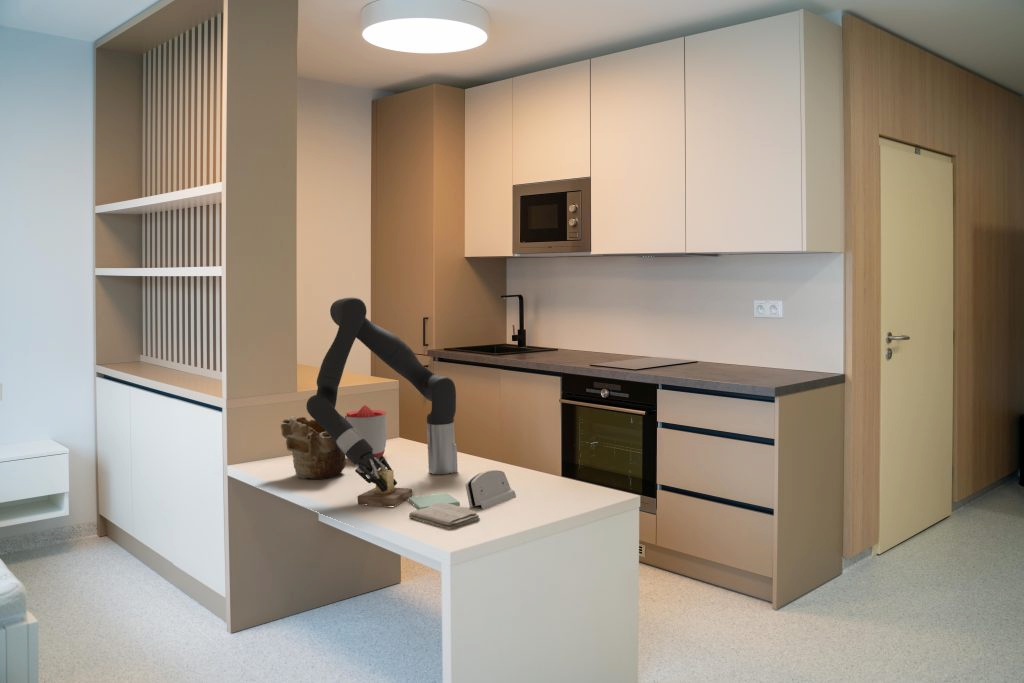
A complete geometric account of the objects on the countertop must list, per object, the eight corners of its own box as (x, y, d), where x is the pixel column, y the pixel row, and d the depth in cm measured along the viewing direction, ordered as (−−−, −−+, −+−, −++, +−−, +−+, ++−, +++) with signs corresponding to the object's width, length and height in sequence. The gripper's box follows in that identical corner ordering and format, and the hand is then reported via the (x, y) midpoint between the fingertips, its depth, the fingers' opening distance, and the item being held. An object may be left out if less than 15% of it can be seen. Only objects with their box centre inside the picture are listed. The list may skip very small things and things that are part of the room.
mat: (446, 495, 253) (446, 492, 253) (459, 505, 242) (459, 501, 242) (408, 500, 248) (408, 497, 248) (420, 510, 237) (420, 507, 237)
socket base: (378, 494, 257) (378, 486, 257) (412, 496, 252) (412, 488, 252) (357, 504, 246) (357, 496, 245) (393, 507, 241) (392, 498, 241)
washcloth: (451, 532, 218) (451, 520, 218) (407, 520, 230) (406, 509, 230) (482, 521, 227) (482, 510, 227) (438, 510, 239) (438, 499, 239)
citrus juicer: (343, 454, 317) (341, 403, 315) (389, 452, 319) (386, 401, 317) (339, 463, 302) (336, 409, 300) (387, 461, 303) (385, 407, 302)
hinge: (482, 509, 236) (472, 476, 238) (470, 512, 239) (460, 479, 240) (517, 496, 250) (507, 464, 251) (505, 499, 252) (495, 467, 254)
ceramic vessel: (382, 447, 287) (342, 397, 274) (338, 501, 275) (294, 452, 262) (344, 438, 303) (305, 391, 290) (301, 489, 291) (258, 442, 278)
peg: (383, 498, 252) (381, 469, 251) (394, 499, 250) (393, 470, 250) (376, 501, 248) (375, 472, 247) (388, 502, 246) (386, 473, 246)
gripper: (348, 442, 244) (385, 485, 240) (373, 433, 257) (409, 474, 254) (334, 459, 246) (370, 501, 243) (359, 449, 259) (394, 489, 256)
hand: (390, 487), depth 248 cm, fingers open, 5 cm apart
